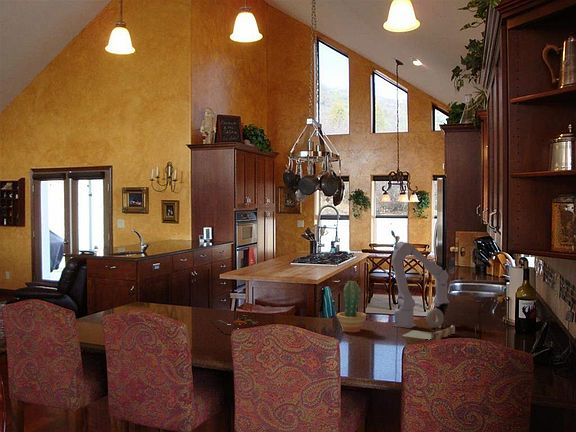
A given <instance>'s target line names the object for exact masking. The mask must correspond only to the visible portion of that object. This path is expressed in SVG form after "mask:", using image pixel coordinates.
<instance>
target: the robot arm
mask: <svg viewBox="0 0 576 432" xmlns="http://www.w3.org/2000/svg"><path fill="white" fill-rule="evenodd" d="M409 255H410V256H413V257H414V258H415V259H417V260H418V261H419V262H420V263H422V264H423V267H424V269H425V270H426V271H428V273H430V275H432V276H433V278H434V279H435V302H434V307H435V309H439V310H441V312H442V313H443V316H444V317H446V316H445V315H446V310H447V308H448V306H449V305H448V304H447V303H450V300H449V299H448V284H447V283H448V279H449V277H450V276H449V274H448V272H447V271H446V270H444V269H443V267H442V266H440V265H438V264H437V262H436V261H435V260H433V259H428V258H427V257H426V256H425V255H424V254H422V252H421V251H420V250H419V249H417V248H416V247H415V246H414V245H412V243H410V242H404V241H399V242H397V243H396V244H395V245H394V246H393V252H392V256H391V263H392V267H393V272H394V277H395V281H396V285H397V291H398V293H397V298H398V299H397V304H398V306H399V308H395V309H394V314H393V315H394V317H393V318H394V321H393V322H394V323H393V327H398V328H399V327H400V328H408V329H411V328H414V327H417V324H415V323H414V322H415V321H414V308H415V306H416V301H415V300H414V298H413V296H412V294H411V292H410V290H409V285H408V281H407V277H406V272H405V267H404V264H403V261H404V260H405V259H406V257H408V256H409Z"/></svg>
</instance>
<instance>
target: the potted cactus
mask: <svg viewBox="0 0 576 432" xmlns="http://www.w3.org/2000/svg"><path fill="white" fill-rule="evenodd" d="M361 291H362V290H361V287H360V286H359V284H358V282H357V281H356V280H355V281H354V280H348V281H347V282H346V283H345V285H344V287H343V297H344V311H342V312H338V313H337V314H336V318H337V319H338V322H339V324H340V326H341V327H342V331H343V332H347V333H357V332H360V331H361V328H362V326H363V324H364V322H365V320H366V318H367V314H366V313H364V312H358V306H359V302H360V299H361V293H362V292H361Z"/></svg>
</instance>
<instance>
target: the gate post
mask: <svg viewBox="0 0 576 432" xmlns="http://www.w3.org/2000/svg"><path fill="white" fill-rule="evenodd" d="M450 327H453V334H456V326H455V325H453V324H452V325H450Z"/></svg>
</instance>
